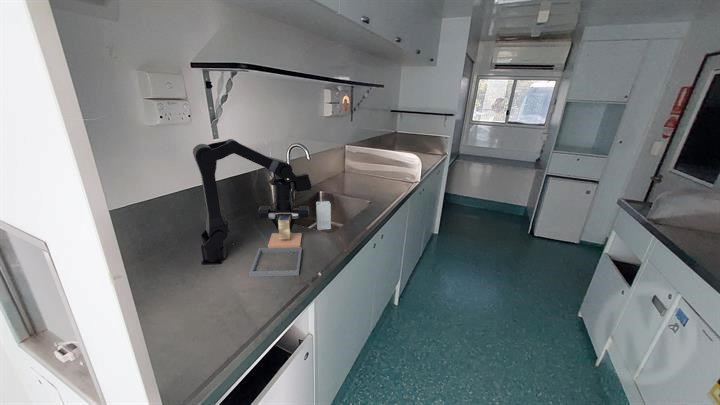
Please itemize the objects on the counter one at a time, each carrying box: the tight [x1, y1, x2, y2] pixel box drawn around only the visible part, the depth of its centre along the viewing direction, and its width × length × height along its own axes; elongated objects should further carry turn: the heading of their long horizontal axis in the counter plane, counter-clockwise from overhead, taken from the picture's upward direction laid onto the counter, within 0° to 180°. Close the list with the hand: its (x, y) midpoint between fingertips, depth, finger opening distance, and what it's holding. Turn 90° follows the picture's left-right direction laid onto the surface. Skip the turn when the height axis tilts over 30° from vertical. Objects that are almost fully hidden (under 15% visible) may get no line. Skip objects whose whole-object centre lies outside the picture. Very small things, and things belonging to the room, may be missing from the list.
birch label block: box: [278, 214, 292, 239], centre depth 112 cm, size 4×5×8 cm
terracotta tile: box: [267, 232, 303, 248], centre depth 115 cm, size 12×10×1 cm
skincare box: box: [315, 200, 332, 231], centre depth 126 cm, size 6×4×12 cm
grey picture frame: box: [248, 246, 303, 278], centre depth 101 cm, size 16×16×2 cm
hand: (285, 231), depth 113 cm, fingers closed on birch label block, 4 cm apart
